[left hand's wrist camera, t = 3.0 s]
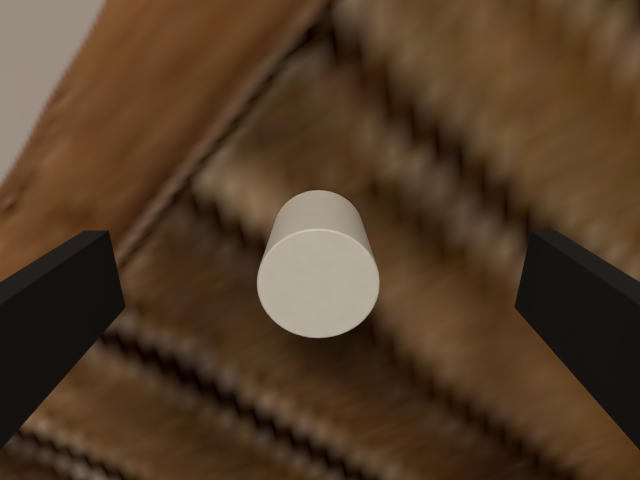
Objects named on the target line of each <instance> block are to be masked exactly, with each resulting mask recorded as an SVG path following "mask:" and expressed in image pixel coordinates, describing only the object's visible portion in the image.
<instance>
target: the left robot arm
mask: <svg viewBox="0 0 640 480" xmlns="http://www.w3.org/2000/svg"><path fill="white" fill-rule="evenodd" d="M124 308H125V303H124V299H123V294H122V289H121V285H120V280H119V276H118V271H117V266H116V262H115V257H114V253H113V248H112V243H111V239H110V234H109V231H83V232H81V233H79V234H78V235H76V236H75V237H73V238H71V239H70V240H68V241H66V242H65V243H63V244H62V245H60V246H58V247H57V248H55V249H53V250H52V251H50V252H49V253H47V254H45V255H44V256H42V257H40V258H39V259H37V260H36V261H34V262H32V263H31V264H29V265H28V266H26V267H24V268H23V269H21V270H19V271H18V272H16V273H15V274H13V275H11V276H10V277H8V278H6V279H5V280H3V281H2V282H0V450H1V449H2V447H3V446H4V445H5V444H6V443H7V442H8V441H9V439H10V438H11V437H12V436H13V435H14V434H15V433H16V431H17V430H18V429H19V428H20V427H21V426H22V425H23V423H24V422H25V421H26V420H27V419H28V418H29V417H30V416H31V414H32V413H33V412H34V411H35V410H36V409H37V408H38V406H39V405H40V404H41V403H42V402H43V401H44V400H45V398H46V397H47V396H48V395H49V394H50V393H51V392H52V390H53V389H54V388H55V387H56V386H57V385H58V384H59V382H60V381H61V380H62V379H63V378H64V377H65V376H66V374H67V373H68V372H69V371H70V370H71V369H72V368H73V366H74V365H75V364H76V363H77V362H78V361H79V360H80V358H81V357H82V356H83V355H84V354H85V353H86V352H87V351H88V349H89V348H90V347H91V346H92V345H93V344H94V343H95V341H96V340H97V339H98V338H99V337H100V336H101V335H102V333H103V332H104V331H105V330H106V329H107V328H108V327H109V325H110V324H111V323H112V322H113V321H114V320H115V319H116V317H117V316H118V315H119V314H120V313H121V312H122V311H123V309H124ZM515 308H516V309H517V311H518V312H519V313H520V314H521V315H522V316H523V317H524V319H525V320H526V321H527V322H528V323H529V324H530V325H531V327H532V328H533V329H534V330H535V331H536V332H537V333H538V335H539V336H540V337H541V338H542V339H543V340H544V341H545V343H546V344H547V345H548V346H549V347H550V348H551V349H552V351H553V352H554V353H555V354H556V355H557V356H558V357H559V358H560V360H561V361H562V362H563V363H564V364H565V365H566V366H567V368H568V369H569V370H570V371H571V372H572V373H573V374H574V376H575V377H576V378H577V379H578V380H579V381H580V382H581V384H582V385H583V386H584V387H585V388H586V389H587V390H588V392H589V393H590V394H591V395H592V396H593V397H594V398H595V400H596V401H597V402H598V403H599V404H600V405H601V406H602V408H603V409H604V410H605V411H606V412H607V413H608V414H609V416H610V417H611V418H612V419H613V420H614V421H615V422H616V423H617V425H618V426H619V427H620V428H621V429H622V430H623V431H624V433H625V434H626V435H627V436H628V437H629V438H630V439H631V441H632V442H633V443H634V444H635V445H636V446H637V447H638V449H639V450H640V282H638V281H637V280H635V279H634V278H632V277H630V276H629V275H627V274H625V273H624V272H622V271H621V270H619V269H617V268H616V267H614V266H612V265H611V264H609V263H608V262H606V261H604V260H603V259H601V258H600V257H598V256H596V255H595V254H593V253H591V252H590V251H588V250H587V249H585V248H583V247H582V246H580V245H578V244H577V243H575V242H574V241H572V240H570V239H569V238H567V237H565V236H564V235H562V234H561V233H559V232H557V231H531V234H530V239H529V243H528V248H527V253H526V257H525V262H524V266H523V271H522V276H521V280H520V285H519V289H518V294H517V299H516V303H515Z"/></svg>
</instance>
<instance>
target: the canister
mask: <svg viewBox="0 0 640 480" xmlns="http://www.w3.org/2000/svg"><path fill="white" fill-rule="evenodd" d="M379 287H380V279H379V272H378V269H377V266H376V262H375V259H374V256H373V253H372V250H371V247H370V244H369V241H368V238H367V235H366V232H365V229H364V226H363V223H362V220H361V218H360V215H359V213H358V212H357V210H356V209H355V207H354V206H353V205H352V204H351V203H350V202H349V201H348V200H347V199H345V198H344V197H342V196H340V195H338V194H336V193H333V192H329V191H323V190H313V191H307V192H304V193H301V194H299V195H297V196H295V197H293V198H292V199H290V200H289V201H288V202H287V203H286V204H285V205H284V206H283V207H282V208H281V210H280V211H279V213H278V215H277V217H276V220H275V223H274V226H273V229H272V232H271V235H270V238H269V241H268V244H267V247H266V250H265V253H264V256H263V259H262V262H261V265H260V268H259V271H258V277H257V289H258V295H259V298H260V301H261V303H262V306H263V307H264V309H265V311H266V312H267V314H268V315H269V316H270V317H271V318H272V319H273V320H274V321H275V322H276V323H277V324H278V325H280V326H281V327H282V328H284V329H286V330H288V331H290V332H292V333H294V334H297V335H300V336H305V337H310V338H326V337H332V336H336V335H340V334H342V333H345V332H347V331H349V330H351V329H353V328H354V327H356V326H357V325H358V324H360V323H361V322H362V321H363V320H364V319H365V318H366V317H367V316H368V314H369V313H370V312H371V310H372V308H373V307H374V305H375V303H376V300H377V297H378V294H379Z"/></svg>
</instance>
